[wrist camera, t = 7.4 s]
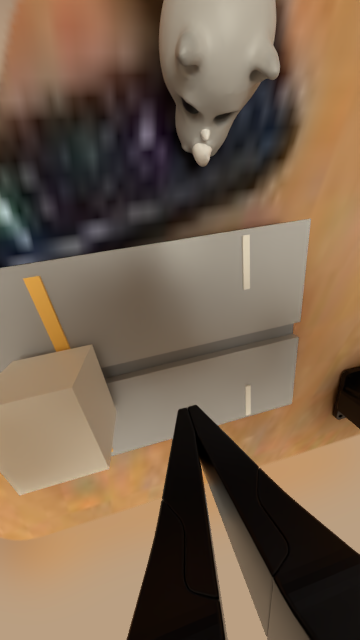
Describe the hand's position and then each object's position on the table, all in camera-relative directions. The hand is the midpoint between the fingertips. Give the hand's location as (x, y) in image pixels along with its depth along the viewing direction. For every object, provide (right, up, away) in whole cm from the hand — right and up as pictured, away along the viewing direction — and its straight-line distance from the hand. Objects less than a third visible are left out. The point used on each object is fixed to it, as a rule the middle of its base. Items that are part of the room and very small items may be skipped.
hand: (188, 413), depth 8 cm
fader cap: (-7, 0, +4) cm, 8 cm away
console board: (-2, +2, +6) cm, 7 cm away
